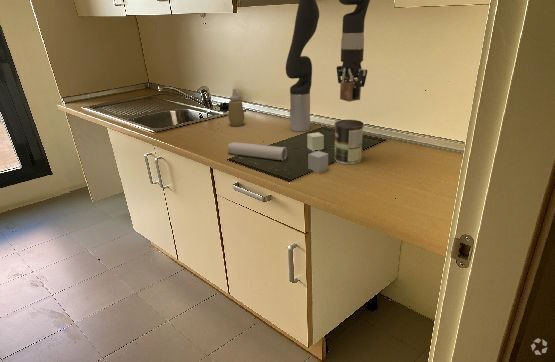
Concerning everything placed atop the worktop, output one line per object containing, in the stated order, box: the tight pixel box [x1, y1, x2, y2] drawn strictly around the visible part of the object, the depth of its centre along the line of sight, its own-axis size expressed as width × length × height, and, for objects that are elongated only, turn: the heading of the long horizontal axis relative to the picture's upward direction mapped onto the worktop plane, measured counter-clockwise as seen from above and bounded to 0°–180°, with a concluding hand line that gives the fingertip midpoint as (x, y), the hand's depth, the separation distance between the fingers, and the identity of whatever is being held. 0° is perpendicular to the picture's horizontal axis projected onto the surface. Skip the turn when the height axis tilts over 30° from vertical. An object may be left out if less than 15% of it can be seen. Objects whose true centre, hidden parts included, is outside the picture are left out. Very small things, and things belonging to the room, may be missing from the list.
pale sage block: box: [306, 131, 325, 152], centre depth 156 cm, size 5×5×6 cm
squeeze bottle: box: [228, 88, 245, 127], centre depth 190 cm, size 8×8×18 cm
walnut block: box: [339, 80, 362, 102], centre depth 135 cm, size 5×5×6 cm
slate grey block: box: [307, 150, 329, 174], centre depth 136 cm, size 5×5×6 cm
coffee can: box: [333, 119, 364, 165], centre depth 142 cm, size 10×10×14 cm
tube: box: [227, 141, 288, 162], centre depth 151 cm, size 5×5×25 cm
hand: (350, 97), depth 135 cm, fingers closed on walnut block, 5 cm apart
